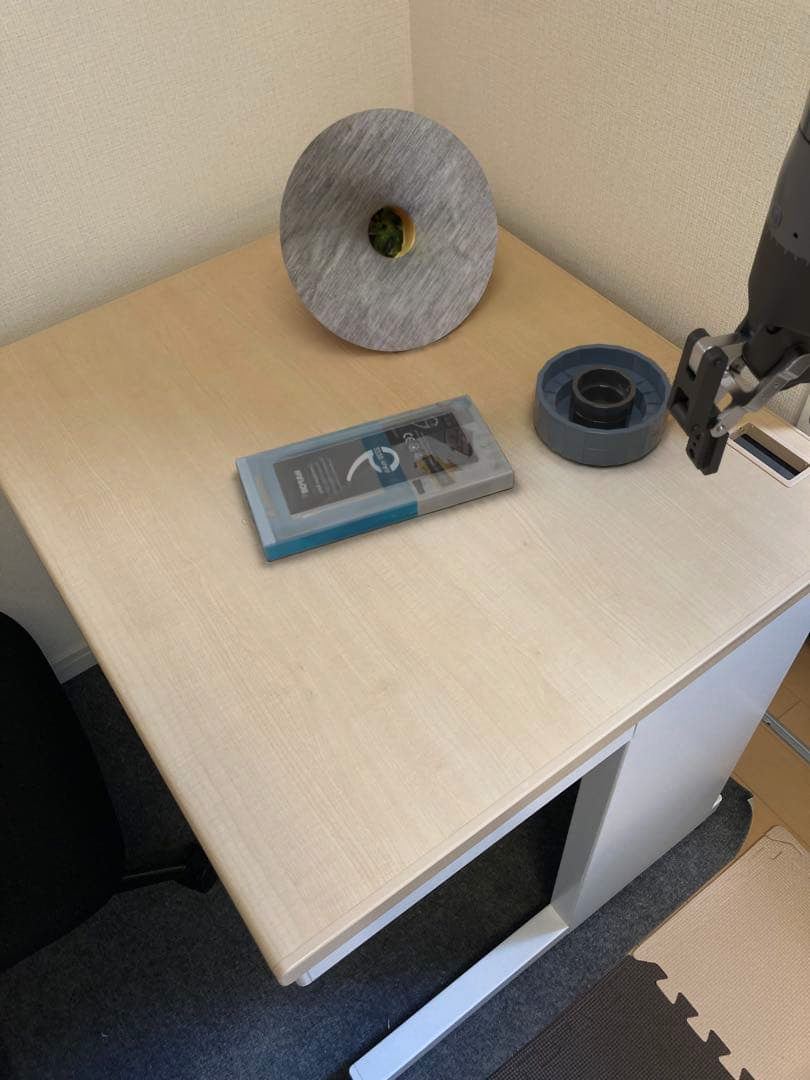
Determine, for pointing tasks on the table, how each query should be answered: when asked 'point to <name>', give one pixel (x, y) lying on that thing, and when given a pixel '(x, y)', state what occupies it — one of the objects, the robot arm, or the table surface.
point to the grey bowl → (599, 442)
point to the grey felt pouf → (388, 229)
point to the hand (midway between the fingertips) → (763, 448)
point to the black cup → (602, 398)
